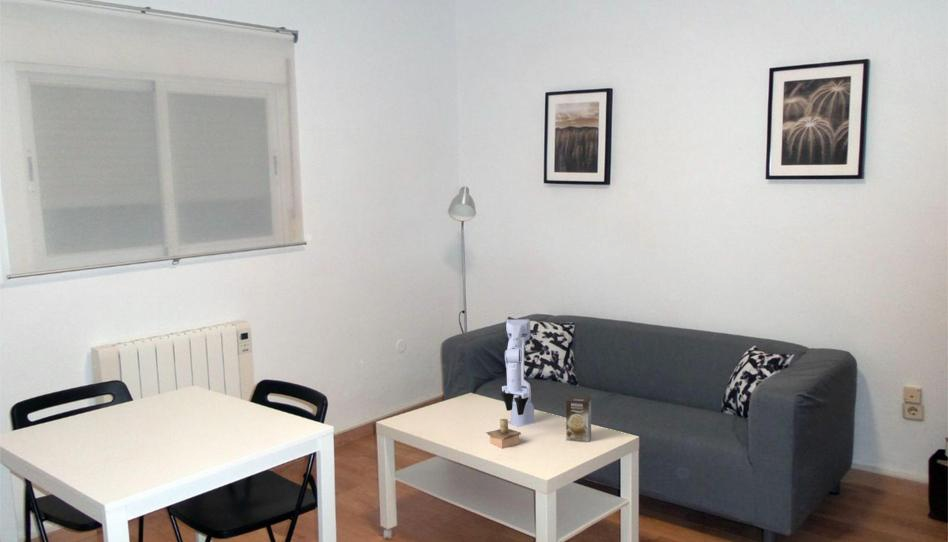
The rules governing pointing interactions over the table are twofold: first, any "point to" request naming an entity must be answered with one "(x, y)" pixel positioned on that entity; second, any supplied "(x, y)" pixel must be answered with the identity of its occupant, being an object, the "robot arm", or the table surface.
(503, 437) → the lid
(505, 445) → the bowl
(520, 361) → the robot arm
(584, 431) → the coffee box
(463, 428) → the table surface
